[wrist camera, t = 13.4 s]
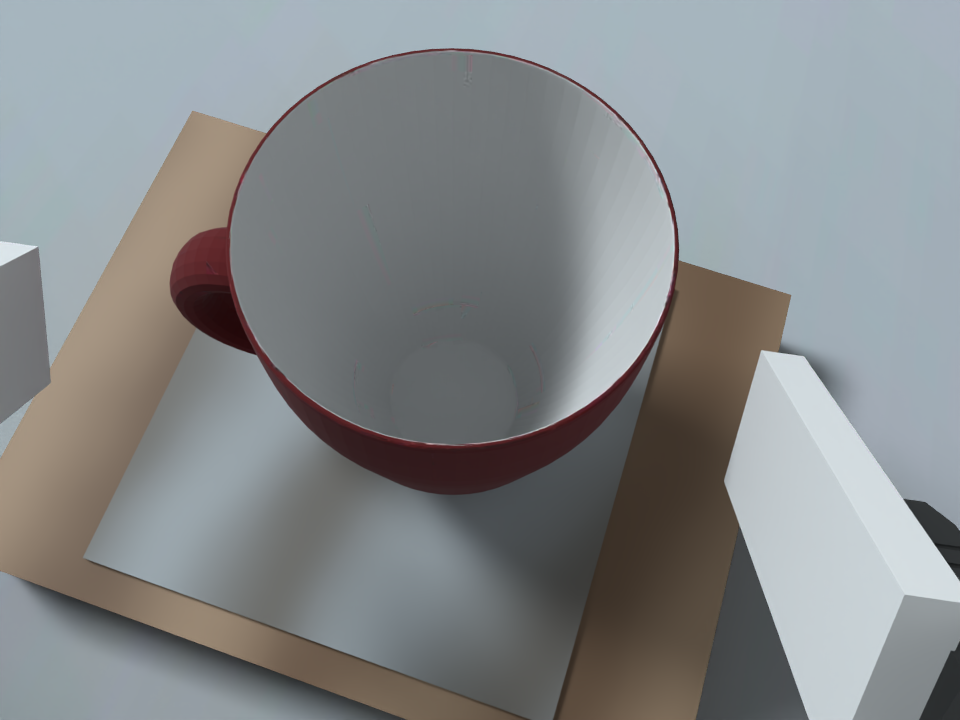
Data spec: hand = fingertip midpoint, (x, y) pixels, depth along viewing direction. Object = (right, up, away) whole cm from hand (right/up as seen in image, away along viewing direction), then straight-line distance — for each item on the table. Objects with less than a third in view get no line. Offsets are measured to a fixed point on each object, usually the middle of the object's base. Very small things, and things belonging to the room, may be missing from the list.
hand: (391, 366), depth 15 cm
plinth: (-1, -3, +12) cm, 12 cm away
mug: (0, -1, +9) cm, 9 cm away
